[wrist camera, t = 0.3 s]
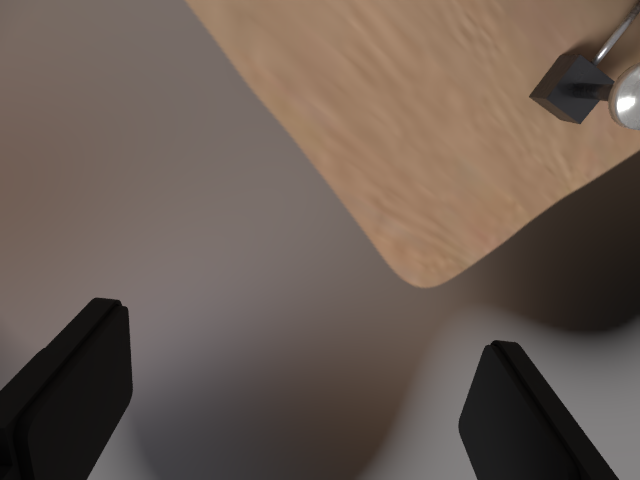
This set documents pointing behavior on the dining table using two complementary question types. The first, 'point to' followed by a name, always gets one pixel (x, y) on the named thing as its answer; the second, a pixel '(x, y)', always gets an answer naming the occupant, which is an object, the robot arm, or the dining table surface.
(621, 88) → the lever with ball knob
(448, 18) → the dining table surface
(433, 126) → the dining table surface
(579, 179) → the dining table surface
